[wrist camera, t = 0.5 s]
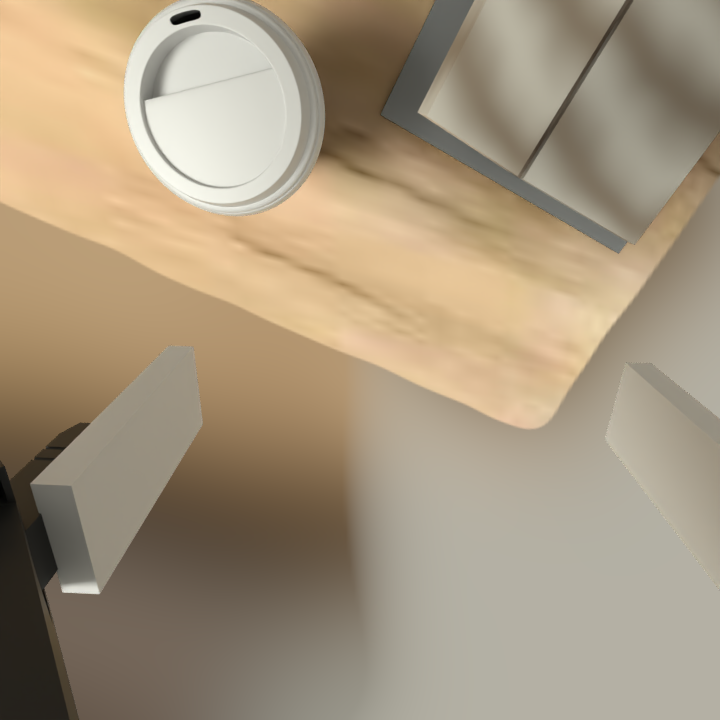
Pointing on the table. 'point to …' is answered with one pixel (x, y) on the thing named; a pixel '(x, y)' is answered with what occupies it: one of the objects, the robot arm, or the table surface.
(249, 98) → the coffee cup
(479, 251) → the table surface
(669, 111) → the laid board
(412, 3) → the table surface
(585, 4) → the plank
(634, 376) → the robot arm
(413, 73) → the underlay
